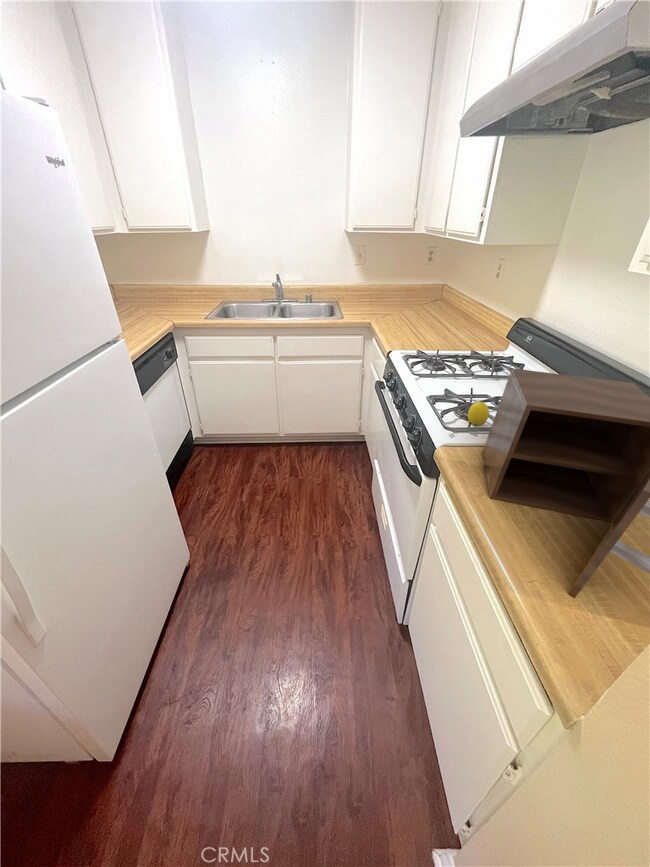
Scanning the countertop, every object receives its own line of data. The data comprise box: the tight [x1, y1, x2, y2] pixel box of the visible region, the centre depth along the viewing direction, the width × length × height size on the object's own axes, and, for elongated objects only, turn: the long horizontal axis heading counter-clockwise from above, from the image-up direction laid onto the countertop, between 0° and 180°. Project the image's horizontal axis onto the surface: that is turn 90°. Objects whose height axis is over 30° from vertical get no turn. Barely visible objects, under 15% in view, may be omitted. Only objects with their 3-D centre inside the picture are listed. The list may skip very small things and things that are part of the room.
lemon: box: [467, 401, 490, 426], centre depth 101 cm, size 6×6×8 cm
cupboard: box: [483, 368, 650, 524], centre depth 75 cm, size 18×24×24 cm
